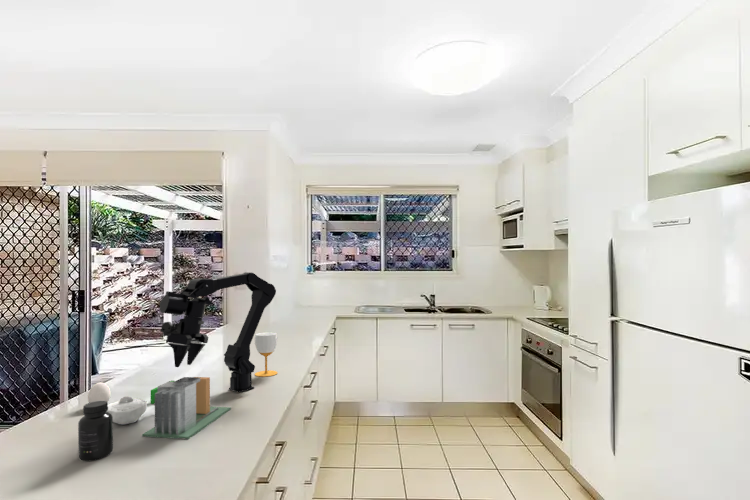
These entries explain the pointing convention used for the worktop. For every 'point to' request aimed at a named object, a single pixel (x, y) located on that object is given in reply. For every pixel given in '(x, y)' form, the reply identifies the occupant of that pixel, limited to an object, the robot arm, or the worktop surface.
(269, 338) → the cup
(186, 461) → the worktop surface
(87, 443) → the supplement bottle
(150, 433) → the board
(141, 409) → the cell model
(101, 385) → the egg
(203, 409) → the orange block
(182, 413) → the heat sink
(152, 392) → the pipe clamp
